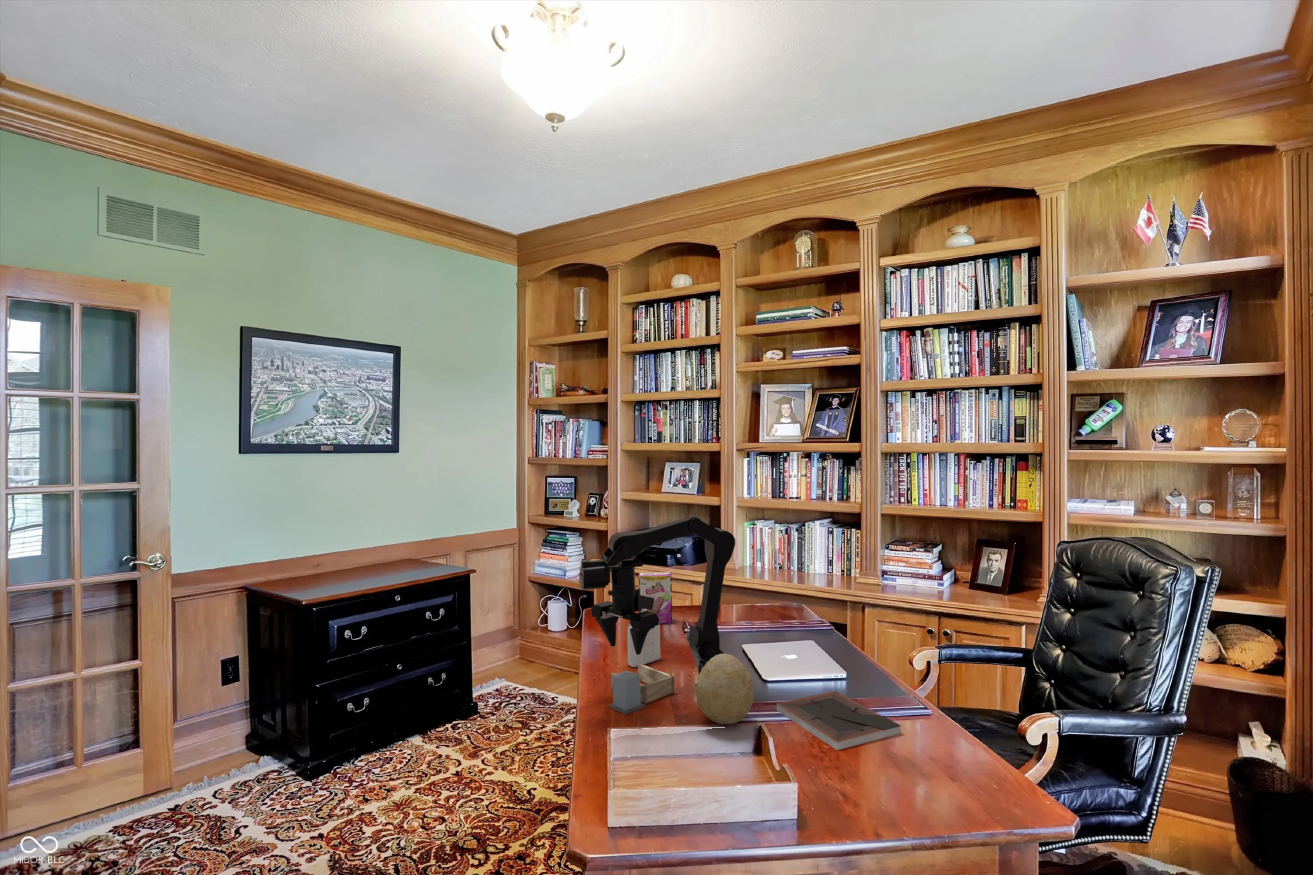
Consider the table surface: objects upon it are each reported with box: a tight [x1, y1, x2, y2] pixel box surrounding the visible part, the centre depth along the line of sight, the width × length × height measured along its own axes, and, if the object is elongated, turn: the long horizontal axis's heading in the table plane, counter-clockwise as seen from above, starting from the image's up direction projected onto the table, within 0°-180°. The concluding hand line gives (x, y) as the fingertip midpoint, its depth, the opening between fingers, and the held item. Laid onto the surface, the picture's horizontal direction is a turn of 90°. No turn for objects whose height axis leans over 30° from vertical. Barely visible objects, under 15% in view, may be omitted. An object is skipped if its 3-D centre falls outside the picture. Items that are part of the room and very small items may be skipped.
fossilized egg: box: [695, 653, 755, 725], centre depth 152 cm, size 13×13×15 cm
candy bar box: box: [638, 571, 673, 625], centre depth 230 cm, size 11×5×16 cm, turn 91°
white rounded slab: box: [626, 623, 661, 668], centre depth 192 cm, size 10×4×12 cm, turn 134°
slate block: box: [612, 670, 641, 710], centre depth 161 cm, size 4×4×7 cm
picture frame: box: [776, 690, 902, 751], centre depth 151 cm, size 16×2×22 cm
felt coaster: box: [608, 702, 646, 715], centre depth 161 cm, size 6×6×1 cm
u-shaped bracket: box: [610, 664, 675, 705], centre depth 171 cm, size 13×10×4 cm
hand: (625, 650), depth 166 cm, fingers open, 9 cm apart
